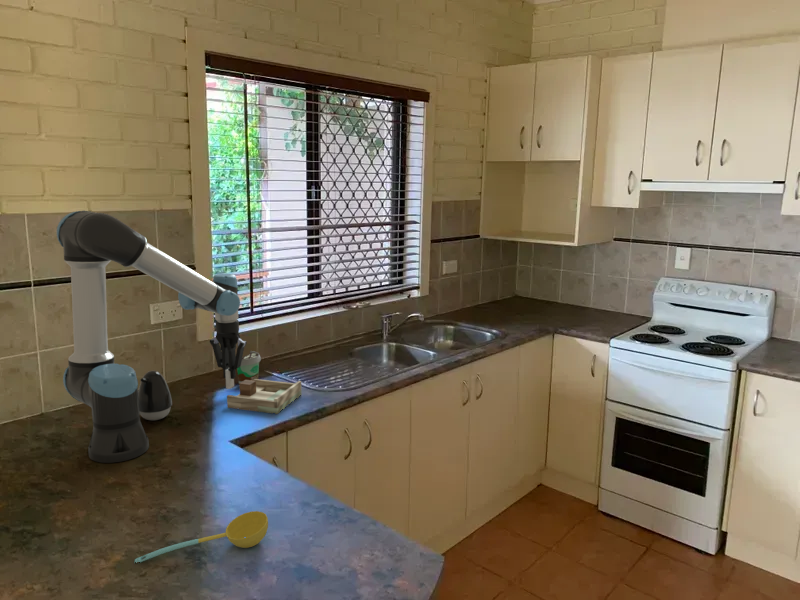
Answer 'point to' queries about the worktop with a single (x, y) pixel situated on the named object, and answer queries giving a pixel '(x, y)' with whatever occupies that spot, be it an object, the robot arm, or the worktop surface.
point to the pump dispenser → (154, 396)
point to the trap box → (267, 397)
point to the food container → (249, 367)
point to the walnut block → (247, 387)
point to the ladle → (229, 534)
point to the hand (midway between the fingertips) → (230, 387)
